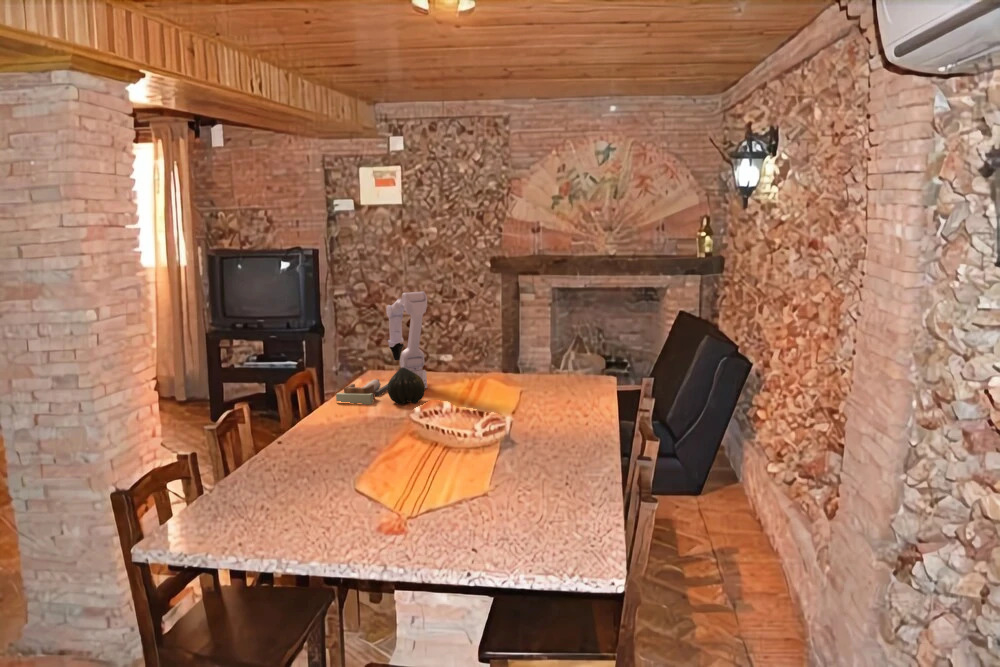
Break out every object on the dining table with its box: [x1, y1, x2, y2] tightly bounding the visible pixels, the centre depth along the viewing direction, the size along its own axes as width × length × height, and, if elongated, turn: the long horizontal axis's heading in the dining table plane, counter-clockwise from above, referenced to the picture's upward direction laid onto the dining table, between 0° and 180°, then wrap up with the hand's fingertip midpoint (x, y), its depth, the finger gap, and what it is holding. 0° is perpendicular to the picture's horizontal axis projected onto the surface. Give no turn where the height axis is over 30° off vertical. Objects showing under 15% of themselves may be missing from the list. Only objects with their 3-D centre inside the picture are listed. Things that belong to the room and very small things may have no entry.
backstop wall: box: [335, 392, 374, 405], centre depth 315 cm, size 15×2×4 cm, turn 78°
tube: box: [363, 379, 381, 393], centre depth 331 cm, size 5×5×25 cm
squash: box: [387, 367, 426, 405], centre depth 314 cm, size 14×15×15 cm
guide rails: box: [362, 379, 388, 397], centre depth 340 cm, size 10×24×2 cm, turn 168°
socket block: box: [343, 383, 375, 400], centre depth 320 cm, size 10×8×6 cm
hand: (397, 360), depth 354 cm, fingers closed
